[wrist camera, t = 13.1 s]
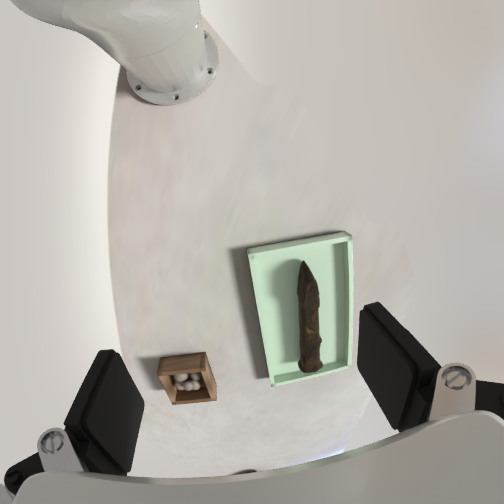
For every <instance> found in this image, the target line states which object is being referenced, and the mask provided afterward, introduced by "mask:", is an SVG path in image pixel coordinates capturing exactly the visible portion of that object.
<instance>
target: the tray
mask: <svg viewBox="0 0 504 504" xmlns="http://www.w3.org/2000/svg"><path fill="white" fill-rule="evenodd" d="M247 254H248V260H249V266H250V271H251V277H252V283H253V288H254V294H255V300H256V305H257V311H258V317H259V322H260V328H261V334H262V339H263V345H264V350H265V356H266V362H267V367H268V373H269V378H270V383H271V387H273V386H278V385H283V384H288V383H292V382H297V381H301V380H306V379H310V378H314V377H318V376H322V375H326V374H329V373H333V372H337V371H340V370H344V369H347V368H351V361H352V342H353V249H352V235H350V234H349V233H347V232H346V231H342V232H337V233H331V234H326V235H320V236H315V237H309V238H303V239H298V240H292V241H287V242H281V243H276V244H270V245H265V246H259V247H254V248H248V249H247ZM303 260H304V261H305V263H306V264H307V265H308V267H309V268H310V271H311V272H312V274H313V276H314V278H315V279H316V281H317V284H318V289H319V298H320V307H319V308H318V309H319V333H320V337H321V338H322V343H321V346H320V359H321V362H322V363H323V367H322V368H321V369H319V370H318V371H317V372H315V373H314V372H312V373H303V372H302V371H301V370H300V369H299V367H298V364H297V363H298V361H299V360H300V356H301V354H300V344H299V339H300V337H299V335H300V328H299V301H298V295H297V285H298V276H299V270H300V265H301V263H302V261H303Z"/></svg>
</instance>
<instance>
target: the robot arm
mask: <svg viewBox="0 0 504 504" xmlns="http://www.w3.org/2000/svg"><path fill="white" fill-rule="evenodd" d="M11 1H12V3H13V4H14V5H16V6H17V7H18V8H19V9H20V10H22V11H23V12H25V13H26V14H28V15H30V16H32V17H34V18H36V19H38V20H40V21H43V22H46V23H49V24H52V25H55V26H59V27H63V28H66V29H70V30H73V31H77V32H78V33H81V34H83V35H84V36H86V37H87V38H89V39H90V40H92V41H93V42H94V43H96V44H97V45H98V46H100V47H101V48H102V49H103V50H104V51H105V52H107V53H108V54H109V55H110V56H111V57H112V58H114V59H115V60H116V61H117V62H118V63H119V64H121V65H122V66H123V67H124V68H125V69H126V75H127V80H128V82H129V85H130V87H131V88H132V89H133V91H134V92H135V93H136V94H137V95H138V96H140V97H141V98H142V99H144V100H146V101H148V102H151V103H153V104H159V105H174V104H179V103H182V102H185V101H188V100H190V99H192V98H194V97H196V96H197V95H198V94H200V93H201V92H202V91H204V90H205V89H206V88H207V86H208V85H209V84H210V83H211V81H212V80H213V78H214V77H215V74H216V72H217V69H218V64H219V53H218V48H217V45H216V43H215V41H214V39H213V38H212V37H211V35H210V34H208V33H207V32H206V31H205V30H203V25H202V18H201V11H200V4H199V0H11ZM204 38H206V39H204ZM209 71H211V72H212V73H211V74H208V72H209ZM140 87H141V89H140V90H139V88H140ZM176 97H179V98H178V99H177V100H175V98H176ZM357 366H358V370H359V372H360V373H361V375H362V377H363V378H364V380H365V382H366V383H367V385H368V387H369V389H370V390H371V392H372V394H373V395H374V397H375V399H376V400H377V402H378V404H379V406H380V407H381V409H382V411H383V413H384V414H385V416H386V418H387V420H388V421H389V423H390V425H391V427H392V428H393V429H394V430H396V429H398V431H399V432H400V433H398V434H396V435H393V436H391V437H388V438H385V439H383V440H380V441H378V442H375V443H372V444H369V445H366V446H363V447H360V448H357V449H354V450H351V451H348V452H344V453H341V454H338V455H334V456H331V457H327V458H323V459H320V460H316V461H312V462H307V463H303V464H299V465H294V466H289V467H284V468H279V469H273V470H267V471H261V472H254V473H247V474H238V475H229V476H217V477H200V478H148V477H131V476H127V472H130V471H131V467H132V462H133V457H134V452H135V447H136V442H137V438H138V433H139V428H140V424H141V420H142V415H143V411H144V400H143V398H142V396H141V394H140V392H139V391H138V389H137V387H136V385H135V383H134V381H133V380H132V378H131V376H130V374H129V372H128V370H127V368H126V366H125V364H124V362H123V360H122V358H121V356H120V354H119V353H116V352H115V351H114V350H113V349H110V350H100V351H99V352H98V354H97V356H96V358H95V360H94V362H93V364H92V365H91V367H90V369H89V371H88V373H87V375H86V377H85V379H84V381H83V383H82V385H81V387H80V389H79V391H78V393H77V396H76V398H75V400H74V402H73V404H72V406H71V408H70V410H69V413H68V415H67V417H66V419H65V422H64V425H65V426H66V427H65V430H63V429H60V428H52V429H49V430H47V431H45V432H44V433H43V434H42V435H41V436H40V438H39V440H38V444H37V448H38V452H37V453H36V454H33V455H32V456H30V457H28V458H26V459H24V460H23V461H21V462H19V463H17V464H16V465H13V466H12V467H10V468H9V469H8V470H7V472H6V474H5V478H4V482H5V486H4V485H3V484H0V504H504V384H502V383H494V382H487V381H479V380H476V377H475V373H474V372H473V370H472V369H470V367H468V366H467V365H464V364H461V363H450V364H447V365H445V366H443V367H441V366H440V365H439V364H438V362H437V361H436V360H435V359H434V358H433V357H432V356H431V355H430V354H429V353H428V351H427V350H426V349H425V348H424V347H423V346H422V345H421V344H420V343H419V342H418V341H417V340H416V339H415V338H414V336H413V335H412V334H411V333H410V332H409V331H408V330H407V329H405V328H404V327H403V326H402V325H401V324H400V323H399V322H398V321H397V320H396V319H395V318H394V317H393V316H392V315H391V314H390V313H389V312H388V310H387V309H386V308H385V307H384V306H383V305H382V304H381V303H379V302H375V303H371V304H368V305H365V306H364V308H363V310H361V311H360V317H359V340H358V356H357Z"/></svg>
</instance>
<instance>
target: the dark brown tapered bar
mask: <svg viewBox="0 0 504 504" xmlns="http://www.w3.org/2000/svg"><path fill="white" fill-rule="evenodd" d="M297 295H298V301H299V328H300V335H299V337H300V339H299V344H300V354H301V356H300V360H299V361H298V363H297V364H298V367H299V369H300V370H301V371H302V372H303V373H312V372H314V373H315V372H317V371H318V370H319V369H321V368H322V367H323V363H322V362H321V359H320V346H321V343H322V338H321V337H320V333H319V309H318V308H319V307H320V298H319V289H318V284H317V281H316V279H315V278H314V276H313V274H312V272H311V271H310V268H309V267H308V265H307V264H306V263H305V261H304V260H303V261H302V263H301V265H300V270H299V276H298V285H297Z"/></svg>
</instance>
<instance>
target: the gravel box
mask: <svg viewBox="0 0 504 504" xmlns="http://www.w3.org/2000/svg"><path fill="white" fill-rule="evenodd" d="M157 374H158V376H159V379H160V381H161V383H162V385H163V387H164V389H165V391H166V393H167V395H168V397H169V399H170V401H171V403H172V405H176V404H188V403H198V402H208V401H216V400H217V395H216V382H215V379H214V376H213V373H212V370H211V367H210V364H209V361H208V358H207V355H206V352H203V353H196V354H188V355H180V356H172V357H163V358H160V362H159V366H158V370H157Z"/></svg>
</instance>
